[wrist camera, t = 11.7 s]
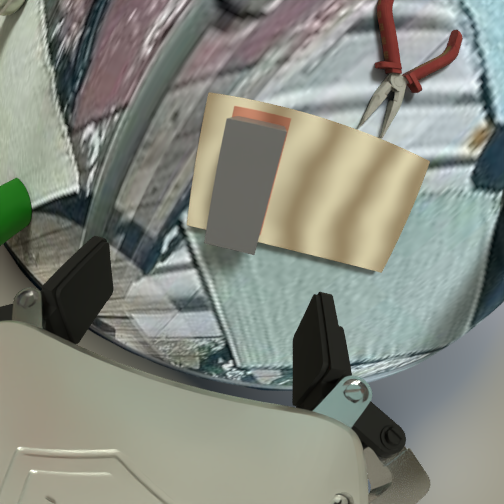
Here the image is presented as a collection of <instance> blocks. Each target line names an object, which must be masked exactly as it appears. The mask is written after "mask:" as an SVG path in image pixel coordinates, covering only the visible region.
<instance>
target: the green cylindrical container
mask: <svg viewBox="0 0 504 504" xmlns="http://www.w3.org/2000/svg"><path fill="white" fill-rule="evenodd" d="M31 215H32V209H31V202H30V198H29V195H28V192H27V190H26V188H25V186H24V185H23V183H22V182H21V181H20V180H19V179H18V178H15V179H13V180H11V181H9V182H7V183H5V184H3V185H1V186H0V246H1V245H2V244H3V243H5V242H6V241H7V240H8V239H10V238H11V237H12V236H14V235H15V234H16V233H18V232H19V231H21V230H22V229H23V228H25V227H26V226H27V225H28V224H29V223H30V220H31Z"/></svg>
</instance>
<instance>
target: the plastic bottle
mask: <svg viewBox="0 0 504 504" xmlns="http://www.w3.org/2000/svg"><path fill="white" fill-rule="evenodd" d="M24 2H25V0H0V15H1V16H6V15H11V14H13V13H15V12H16V11H18V10H19V9H20V7H21V6H22V5H23V3H24Z"/></svg>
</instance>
